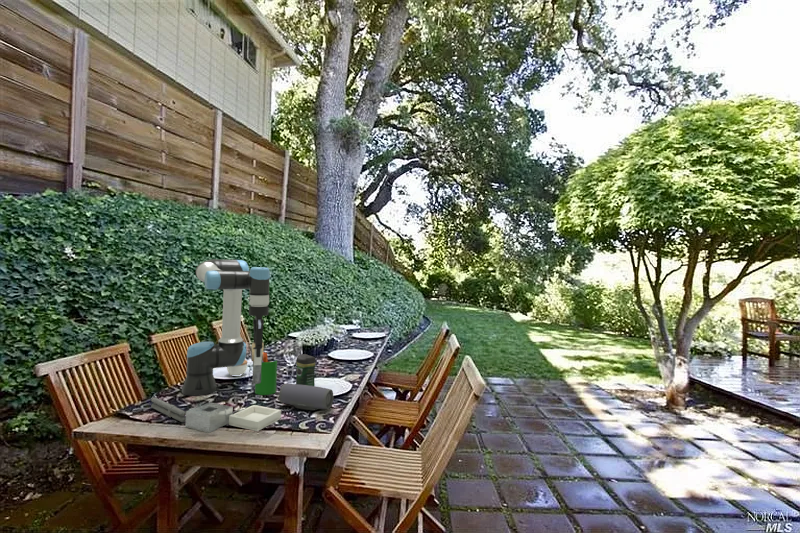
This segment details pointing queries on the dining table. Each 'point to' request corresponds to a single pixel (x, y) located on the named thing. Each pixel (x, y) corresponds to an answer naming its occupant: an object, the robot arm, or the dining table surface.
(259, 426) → the tray
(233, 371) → the lidded jar
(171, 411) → the metal rod assembly
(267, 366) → the green cylinder
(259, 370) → the tan knobbed cylinder
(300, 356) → the coffee jar
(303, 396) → the bluetooth speaker
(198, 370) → the robot arm
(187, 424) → the block
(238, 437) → the dining table surface
